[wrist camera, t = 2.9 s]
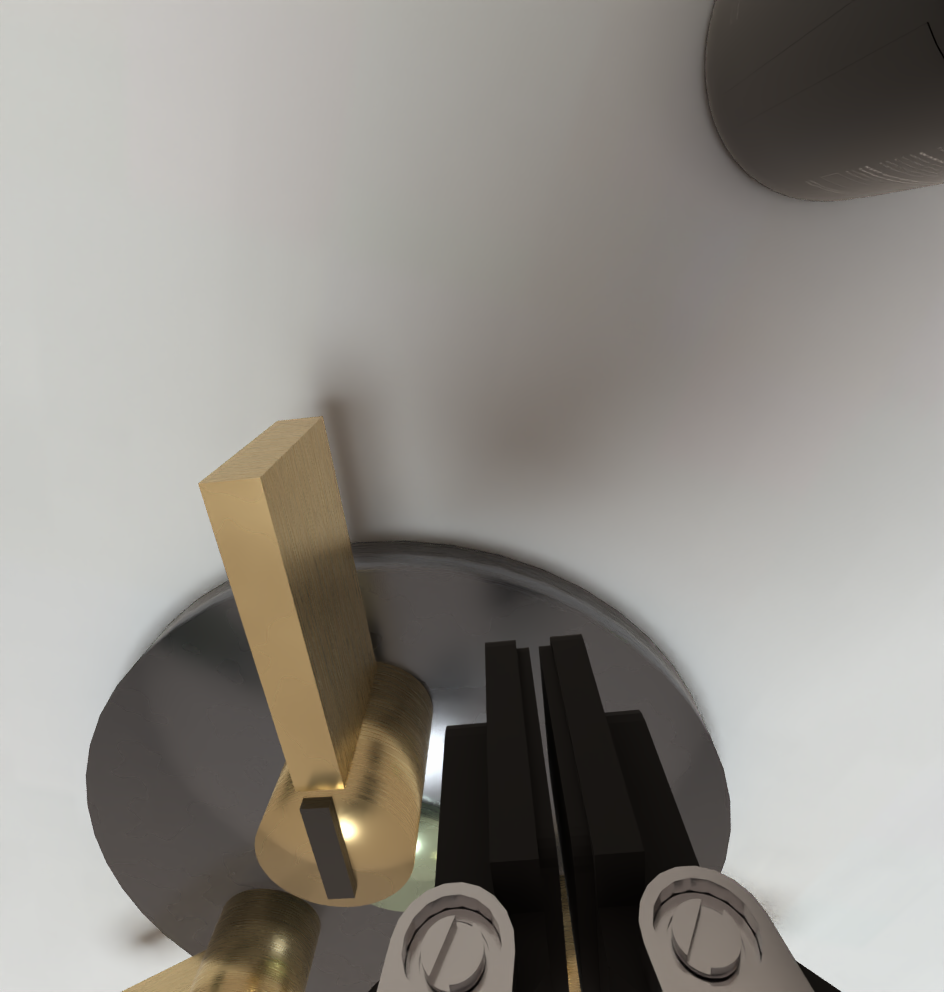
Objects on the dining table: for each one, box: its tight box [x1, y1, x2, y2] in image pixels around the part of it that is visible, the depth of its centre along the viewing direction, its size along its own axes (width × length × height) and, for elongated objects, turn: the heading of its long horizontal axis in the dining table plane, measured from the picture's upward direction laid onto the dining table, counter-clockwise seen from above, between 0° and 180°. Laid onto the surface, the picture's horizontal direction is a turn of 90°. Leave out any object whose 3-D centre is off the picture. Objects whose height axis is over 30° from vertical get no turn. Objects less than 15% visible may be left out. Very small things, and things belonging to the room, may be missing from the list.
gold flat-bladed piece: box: [198, 416, 433, 907], centre depth 15 cm, size 12×4×5 cm, turn 7°
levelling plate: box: [86, 541, 731, 992], centre depth 22 cm, size 24×24×3 cm
